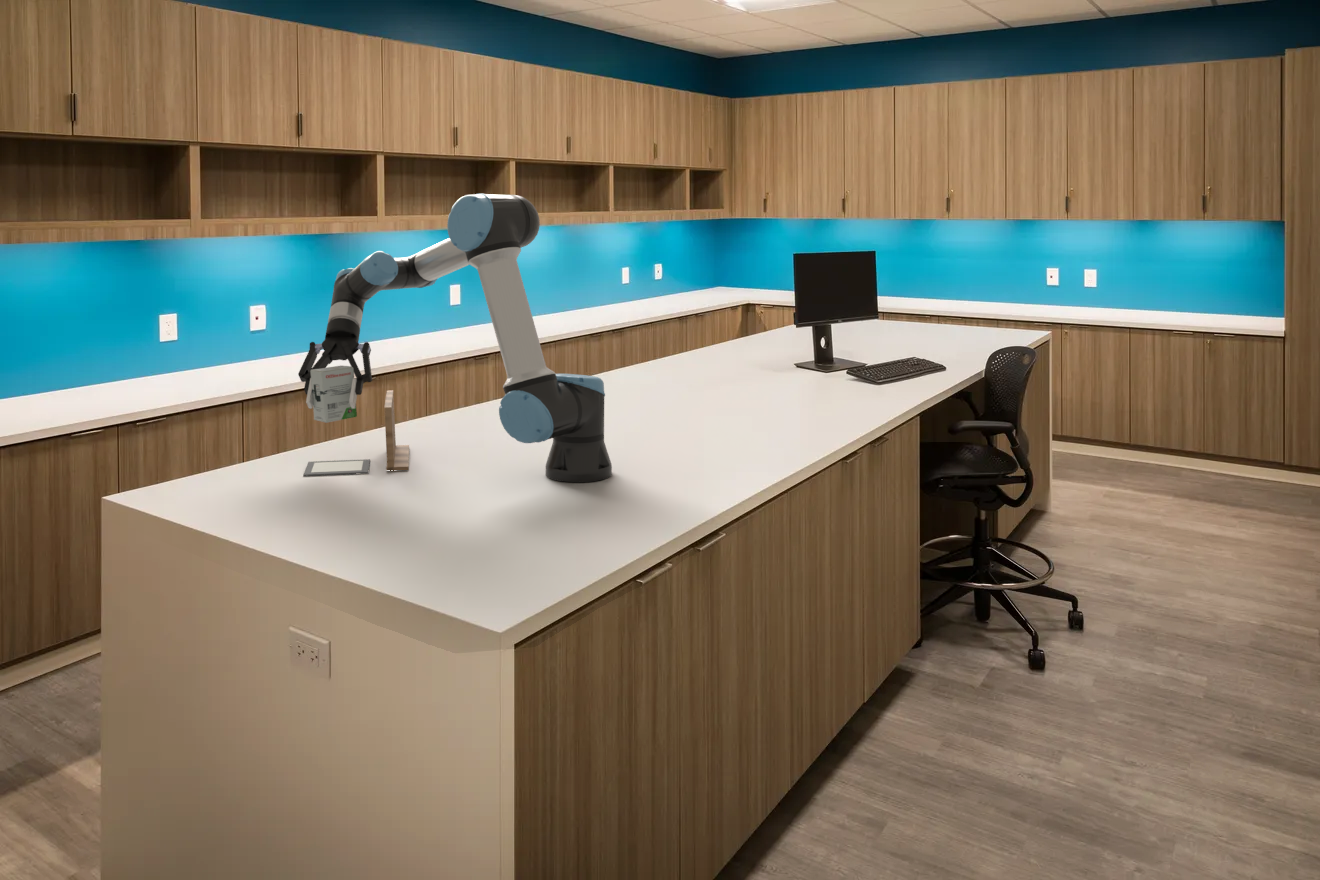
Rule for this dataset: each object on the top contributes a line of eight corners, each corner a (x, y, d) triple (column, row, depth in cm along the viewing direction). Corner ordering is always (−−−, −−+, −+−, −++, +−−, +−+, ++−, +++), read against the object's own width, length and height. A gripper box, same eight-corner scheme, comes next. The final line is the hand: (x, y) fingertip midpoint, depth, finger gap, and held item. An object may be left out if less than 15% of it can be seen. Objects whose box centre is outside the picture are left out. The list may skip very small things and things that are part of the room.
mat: (368, 473, 237) (367, 471, 237) (303, 476, 234) (303, 474, 233) (370, 460, 248) (370, 458, 248) (308, 463, 245) (308, 461, 245)
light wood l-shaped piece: (408, 470, 240) (406, 406, 236) (386, 471, 238) (383, 407, 235) (409, 448, 260) (406, 389, 257) (388, 449, 259) (385, 390, 256)
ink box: (345, 414, 243) (342, 364, 241) (357, 417, 240) (355, 366, 238) (312, 420, 237) (309, 368, 234) (325, 423, 234) (321, 370, 231)
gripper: (392, 336, 250) (382, 414, 238) (301, 335, 249) (286, 414, 237) (387, 316, 244) (375, 395, 232) (293, 316, 243) (277, 395, 231)
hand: (330, 405), depth 234 cm, fingers closed on ink box, 9 cm apart
